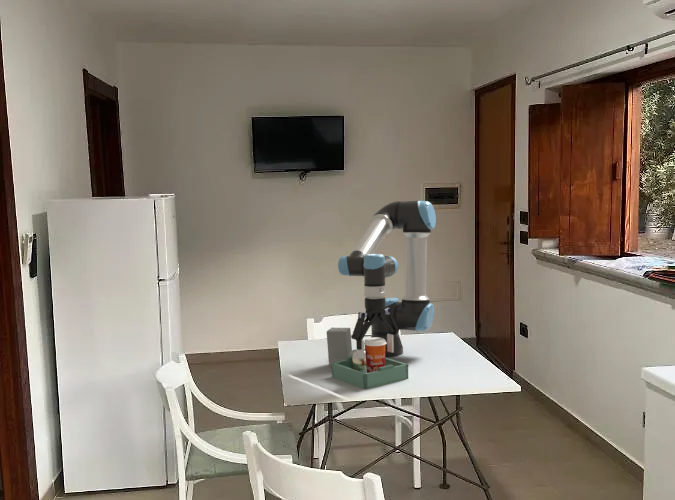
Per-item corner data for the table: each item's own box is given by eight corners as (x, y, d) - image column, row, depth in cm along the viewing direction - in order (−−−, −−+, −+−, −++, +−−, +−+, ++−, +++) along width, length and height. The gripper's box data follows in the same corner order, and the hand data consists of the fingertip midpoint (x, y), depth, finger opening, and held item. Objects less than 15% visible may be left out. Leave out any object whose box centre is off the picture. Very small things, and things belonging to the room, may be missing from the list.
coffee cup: (366, 383, 233) (365, 342, 232) (363, 377, 242) (362, 337, 240) (389, 382, 234) (388, 341, 233) (385, 376, 242) (384, 336, 241)
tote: (332, 378, 244) (331, 360, 243) (373, 369, 255) (373, 351, 255) (365, 391, 227) (365, 371, 227) (408, 380, 239) (408, 361, 238)
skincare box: (353, 366, 260) (352, 327, 259) (347, 371, 253) (346, 330, 252) (333, 365, 263) (332, 326, 261) (327, 369, 256) (326, 329, 255)
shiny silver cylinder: (349, 374, 246) (348, 350, 246) (362, 371, 250) (361, 348, 249) (359, 377, 242) (358, 353, 241) (372, 374, 245) (371, 350, 244)
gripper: (353, 302, 225) (355, 363, 227) (407, 294, 239) (408, 351, 241) (340, 299, 231) (342, 358, 233) (394, 292, 246) (395, 347, 247)
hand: (376, 355), depth 237 cm, fingers open, 13 cm apart
